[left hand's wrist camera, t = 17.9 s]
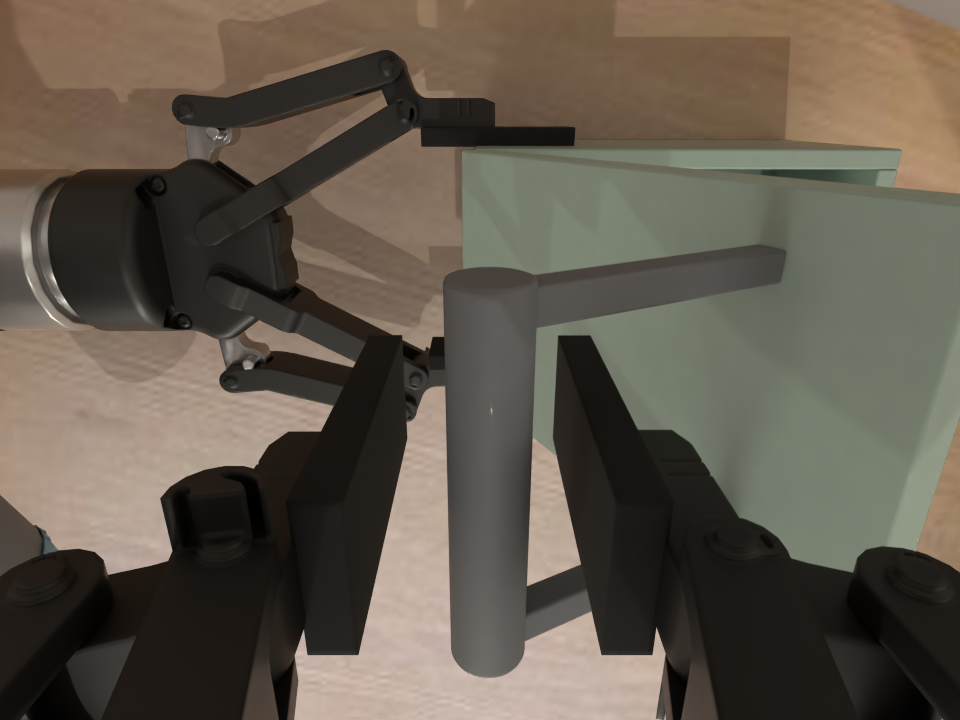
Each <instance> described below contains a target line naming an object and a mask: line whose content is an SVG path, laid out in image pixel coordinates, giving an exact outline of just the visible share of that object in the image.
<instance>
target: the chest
mask: <svg viewBox="0 0 960 720" xmlns="http://www.w3.org/2000/svg"><path fill="white" fill-rule="evenodd" d="M479 149H489V150H499V151H510V152H521V153H531V154H542V155H552V156H563V157H574V158H584V159H595V160H605V161H616V162H627V163H637V164H648V165H658V166H669V167H680V168H690V169H701V170H711V171H722V172H733V173H743V174H754V175H765V176H775V177H786V178H796V179H807V180H818V181H828V182H839V183H849V184H860V185H871V186H881V187H892V188H893V186H894V182H895V178H896V174H897V170H895V169H897V168H898V166H899V162H900V157H901V153H902V150H900V149H892V148H879V147H867V146H854V145H842V144H829V143H817V142H804V141H792V140H575V141H574V146H476V147H475V150H479Z"/></svg>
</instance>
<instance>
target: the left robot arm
mask: <svg viewBox="0 0 960 720" xmlns="http://www.w3.org/2000/svg"><path fill="white" fill-rule="evenodd" d="M406 442H407V423H406V404H405V384H404V364H403V345H402V335H369V337H368V339H367V341H366V343H365V345H364V347H363V349H362V351H361V353H360V355H359V357H358V359H357V361H356V363H355V365H354V367H353V369H352V371H351V373H350V375H349V377H348V379H347V381H346V383H345V385H344V387H343V389H342V391H341V393H340V395H339V397H338V399H337V401H336V403H335V405H334V407H333V409H332V411H331V413H330V415H329V417H328V419H327V421H326V423H325V425H324V427H323V429H322V431H321V432H287V433H286V434H285V435H283V436H282V437H280V438H279V439H277V440H276V441H275V442H273V443H272V444H270V445H269V446H268V448H267V449H266V451H265V452H264V454H263V455H262V457H261V459H260V460H259V464H258V465H256V466H255V468H254V469H252V468H249V467H245V466H223V467H217V468H212V469H207V470H203V471H201V472H198V473H195V474H193V475H190V476H187V477H185V478H184V479H182V480H180V481H179V482H177V483H176V484H174V485H172V486H171V487H170V488H169V489H168V490H167V491H166V492H165V494H164V495H163V496H162V497H161V498H160V499H161V504H162V508H163V512H164V516H165V521H166V525H167V529H168V534H169V538H170V542H171V546H172V554H171V556H170V558H169V561H167V562H163V563H159V564H156V565H152V566H148V567H143V568H139V569H134V570H129V571H124V572H120V573H115V574H110V575H108V574H107V571H106V567H105V564H104V560H103V559H102V558H101V557H100V556H98V555H97V554H96V553H95V552H92V551H87V550H82V549H71V550H60V551H55V552H50V553H47V554H43V555H40V556H37V557H34V558H32V559H30V560H28V561H26V562H23V563H21V564H19V565H17V566H15V567H13V568H11V569H10V570H8V571H7V572H5V573H4V574H3V575H1V576H0V720H294V716H295V706H296V697H297V687H298V676H297V669H296V662H295V653H296V650H297V647H298V644H299V641H300V638H301V636H302V633H303V630H304V633H305V640H306V647H307V654H308V655H358V654H359V650H360V646H361V641H362V637H363V632H364V628H365V623H366V619H367V615H368V610H369V606H370V601H371V597H372V592H373V588H374V583H375V579H376V575H377V570H378V566H379V561H380V557H381V552H382V548H383V544H384V539H385V535H386V530H387V526H388V521H389V517H390V513H391V508H392V504H393V499H394V495H395V490H396V486H397V481H398V477H399V473H400V468H401V464H402V459H403V455H404V450H405V446H406ZM553 442H554V446H555V450H556V455H557V459H558V464H559V468H560V473H561V477H562V481H563V486H564V490H565V495H566V499H567V504H568V508H569V513H570V517H571V521H572V526H573V530H574V535H575V539H576V544H577V548H578V552H579V557H580V561H581V566H582V570H583V575H584V579H585V583H586V588H587V592H588V597H589V601H590V606H591V610H592V614H593V619H594V623H595V628H596V632H597V637H598V641H599V646H600V650H601V654H602V655H652V654H653V647H654V640H655V633H656V627H657V630H658V632H659V635H660V638H661V641H662V644H663V647H664V650H665V653H666V656H665V662H664V669H663V675H662V682H661V688H660V695H659V701H658V708H657V715H656V719H661V720H664V717H665V714H666V720H941V719H942V718H943V720H960V572H958V571H957V570H955V569H954V568H953V567H951V566H950V565H948V564H945V563H943V562H941V561H939V560H937V559H935V558H933V557H931V556H929V555H927V554H924V553H921V552H915V551H914V550H909V549H905V548H897V547H886V546H880V547H875V548H870V549H866V550H865V551H864V552H863V553H862V554H860V555H859V556H858V557H857V560H856V564H855V567H854V571H853V572H848V571H843V570H839V569H834V568H829V567H824V566H820V565H815V564H810V563H807V562H803V561H799V560H796V559H792V558H791V557H790V555H789V553H788V550H787V549H786V547H785V546H784V545H783V543H782V542H781V541H780V539H779V538H778V537H777V536H775V535H774V534H773V533H771V532H770V531H768V530H767V529H766V528H764V527H763V526H760V525H758V524H756V523H753V522H751V521H749V520H746V519H743V518H739V516H738V515H737V513H736V512H735V510H734V509H733V507H732V506H731V504H730V503H729V501H728V499H727V498H726V496H725V495H724V493H723V492H722V490H721V489H720V487H719V485H718V484H717V482H716V481H715V479H714V478H713V476H710V471H709V470H708V468H707V467H706V465H705V464H704V463H702V459H701V458H700V456H699V454H698V453H697V451H696V450H695V448H694V447H693V445H692V444H691V443H690V442H689V441H687V440H686V439H684V438H683V437H681V436H680V435H679V434H677V433H676V432H674V431H673V430H638V429H637V427H636V425H635V423H634V421H633V419H632V417H631V415H630V413H629V411H628V409H627V407H626V405H625V403H624V401H623V399H622V397H621V395H620V393H619V391H618V389H617V387H616V385H615V383H614V381H613V379H612V377H611V375H610V373H609V371H608V369H607V367H606V365H605V363H604V361H603V359H602V357H601V355H600V353H599V351H598V349H597V347H596V345H595V343H594V341H593V339H592V337H591V335H558V345H557V365H556V384H555V404H554V423H553Z"/></svg>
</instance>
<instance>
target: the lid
mask: <svg viewBox="0 0 960 720" xmlns="http://www.w3.org/2000/svg"><path fill="white" fill-rule="evenodd" d="M462 238H463V269H462V270H458V271H455V272H452V273H450V274H448V275H447V276H446V277H445V279H444V281H443V299H444V345H445V390H446V435H447V481H448V526H449V571H450V617H451V650H452V655H453V657H454V659H455V661H456V662H457V664H458V665H459V666H460V667H461V668H462V669H463V670H464V671H466V672H467V673H469V674H471V675H473V676H476V677H481V678H496V677H500V676H503V675H505V674H507V673H509V672H511V671H512V670H513V669H514V668H515V667H516V666H517V665H518V664H519V662H520V661H521V659H522V657H523V654H524V646H525V641H527V640H529V639H531V638H533V637H536V636H538V635H540V634H542V633H544V632H547V631H549V630H551V629H553V628H556V627H558V626H560V625H562V624H564V623H567V622H569V621H571V620H573V619H575V618H578V617H580V616H582V615H584V614H587V613H589V612H591V611H592V610H591V606H590V601H589V597H588V592H587V588H586V583H585V579H584V575H583V570H582V566H581V565H579V566H576V567H574V568H571V569H569V570H566V571H564V572H562V573H559V574H557V575H554V576H552V577H549V578H547V579H544V580H542V581H539V582H537V583H534V584H532V585H529V586H527V568H528V542H529V515H530V489H531V463H532V437H533V438H534V439H535V440H537V441H538V442H539V443H540V444H542V445H543V446H544V447H545V448H547V449H548V450H549V451H550V452H552V453H553V454H554V455H555V456H557V455H556V450H555V446H554V442H553V423H554V404H555V384H556V365H557V345H558V335H591V337H592V339H593V341H594V343H595V345H596V347H597V349H598V351H599V353H600V355H601V357H602V359H603V361H604V363H605V365H606V367H607V369H608V371H609V373H610V375H611V377H612V379H613V381H614V383H615V385H616V387H617V389H618V391H619V393H620V395H621V397H622V399H623V401H624V403H625V405H626V407H627V409H628V411H629V413H630V415H631V417H632V419H633V421H634V423H635V425H636V427H637V429H638V430H673V431H674V432H676V433H677V434H679V435H680V436H681V437H683V438H684V439H686V440H687V441H689V442H690V443H691V444H692V445H693V447H694V448H695V450H696V451H697V453H698V454H699V456H700V458H701V459H702V463H704V464H705V465H706V467H707V468H708V470H709V471H710V476H713V478H714V479H715V481H716V482H717V484H718V485H719V487H720V489H721V490H722V492H723V493H724V495H725V496H726V498H727V499H728V501H729V503H730V504H731V506H732V507H733V509H734V510H735V512H736V513H737V515H738V516H739V518H743V519H746V520H749V521H751V522H753V523H756V524H758V525H760V526H763V527H764V528H766V529H767V530H768V531H770V532H771V533H773V534H774V535H775V536H777V537H778V538H779V539H780V541H781V542H782V543H783V545H784V546H785V547H786V549H787V550H788V553H789V555H790V557H791V558H792V559H796V560H799V561H803V562H807V563H810V564H815V565H820V566H824V567H829V568H834V569H839V570H843V571H848V572H853V571H854V567H855V564H856V560H857V557H858V556H859V555H860V554H862V553H863V552H864V551H865V550H866V549H870V548H875V547H880V546H886V547H897V548H905V549H909V550H914V551H915V550H916V547H917V544H918V541H919V538H920V535H921V532H922V529H923V526H924V523H925V520H926V517H927V514H928V511H929V508H930V505H931V502H932V499H933V496H934V493H935V490H936V487H937V484H938V481H939V478H940V475H941V472H942V469H943V466H944V463H945V460H946V457H947V454H948V451H949V448H950V445H951V442H952V439H953V436H954V433H955V430H956V427H957V423H958V420H959V417H960V194H955V193H945V192H934V191H924V190H913V189H902V188H892V187H881V186H871V185H860V184H849V183H839V182H828V181H818V180H807V179H796V178H786V177H775V176H765V175H754V174H743V173H733V172H722V171H711V170H701V169H690V168H680V167H669V166H658V165H648V164H637V163H627V162H616V161H605V160H595V159H584V158H574V157H563V156H552V155H542V154H531V153H521V152H510V151H499V150H489V149H479V150H463V151H462Z"/></svg>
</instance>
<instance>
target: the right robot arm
mask: <svg viewBox="0 0 960 720" xmlns="http://www.w3.org/2000/svg"><path fill="white" fill-rule="evenodd" d="M379 90H382V91H383V94H384V97H385V99H386V102H387V104H388V106H386V107H385V108H383V109H381V110H380V111H378V112H377V113H375V114H373V115H372V116H370V117H368V118H367V119H365V120H364V121H362V122H360V123H359V124H357V125H355V126H354V127H352V128H351V129H349V130H347V131H346V132H344V133H342V134H341V135H339V136H338V137H336V138H334V139H333V140H331V141H329V142H328V143H326V144H325V145H323V146H321V147H320V148H318V149H316V150H315V151H313V152H312V153H310V154H308V155H307V156H305V157H303V158H302V159H300V160H299V161H297V162H295V163H294V164H292V165H290V166H289V167H287V168H286V169H284V170H282V171H281V172H279V173H277V174H276V175H274V176H272V177H270V178H268V179H266V180H264V181H263V182H261V183H259V184H258V185H254V184H253V183H251V182H250V181H249V180H247V179H246V178H244V177H243V176H241V175H240V174H238V173H237V172H235V171H234V170H232V169H231V168H229V167H228V166H226V165H225V164H224V163H222V162H220V161H219V160H218V158H219V153H220V151H221V150H222V149H223V148H224V147H226V146H231V145H234V144H236V143H237V142H238V141H239V139H240V128H242V127H255V126H260V125H265V124H269V123H272V122H275V121H279V120H282V119H285V118H289V117H292V116H295V115H299V114H302V113H305V112H309V111H312V110H315V109H319V108H322V107H325V106H329V105H332V104H335V103H339V102H342V101H345V100H349V99H352V98H356V97H359V96H362V95H366V94H369V93H372V92H376V91H379ZM172 111H173V114H174V116H175V117H176V119H177V120H178V121H179V122H181V123H182V124H185V130H186V141H187V153H188V160H186V161H184V162H183V163H181V164H180V165H178V166H177V167H175V168H172V169H87V170H83V171H80V172H75V171H72V170H69V169H0V331H5V330H23V331H90V330H92V329H95V328H97V329H100V330H105V331H178V330H195V331H199V332H202V333H205V334H207V335H209V336H211V337H213V338H216V339H219V343H220V347H221V350H222V354H223V358H224V362H225V366H226V370H225V371H224V372H223V373H222V374H221V376H220V378H219V381H220V385H221V387H222V388H223V389H224V390H226V391H228V392H231V393H239V392H251V391H264V390H268V391H273V392H277V393H281V394H285V395H290V396H294V397H298V398H302V399H307V400H311V401H315V402H319V403H324V404H328V405H332V406H334V405H335V403H336V401H337V399H338V397H339V395H340V393H341V391H342V389H343V387H344V385H345V383H346V381H347V379H348V377H349V375H350V373H351V371H352V369H353V368H352V367H348V366H344V365H340V364H336V363H332V362H328V361H323V360H319V359H315V358H311V357H307V356H303V355H299V354H295V353H289V352H282V351H270V350H269V346H268V345H267V344H265V343H259V342H254V341H252V340H250V339H249V338H248V337H247V336H246V334H245V332H244V331H245V330H247V329H248V328H249V327H250V326H252V325H253V324H254V323H256V322H257V321H258V320H260V321H263V322H265V323H267V324H269V325H271V326H273V327H275V328H277V329H279V330H281V331H284V332H287V333H297V334H299V335H301V336H304V337H306V338H308V339H310V340H312V341H314V342H316V343H318V344H320V345H322V346H324V347H326V348H328V349H330V350H332V351H334V352H336V353H338V354H340V355H342V356H345V357H347V358H349V359H351V360H353V361H355V362H356V361H357V359H358V357H359V355H360V353H361V351H362V349H363V347H364V345H365V343H366V341H367V339H368V337H369V335H391V334H389V333H387V332H385V331H383V330H381V329H379V328H377V327H375V326H373V325H371V324H369V323H367V322H365V321H364V320H362V319H360V318H358V317H356V316H354V315H352V314H350V313H348V312H346V311H344V310H342V309H340V308H338V307H336V306H334V305H332V304H330V303H328V302H326V301H324V300H322V299H320V298H318V297H317V295H316V294H315V293H314V292H313V291H311V290H310V289H308V288H306V287H304V286H302V285H300V284H298V283H296V282H295V281H296V280H297V279H299V276H298V268H297V262H296V259H295V257H294V254H293V252H292V249H291V244H292V237H293V224H292V216H288V215H287V213H286V211H285V209H284V207H285V206H286V205H288V204H289V203H291V202H293V201H294V200H296V199H298V198H299V197H301V196H303V195H304V194H306V193H307V192H309V191H310V190H312V189H314V188H315V187H317V186H319V185H320V184H322V183H324V182H325V181H327V180H329V179H330V178H332V177H334V176H335V175H337V174H339V173H340V172H342V171H344V170H345V169H347V168H349V167H350V166H352V165H354V164H355V163H357V162H359V161H360V160H362V159H364V158H365V157H367V156H369V155H370V154H372V153H373V152H375V151H377V150H378V149H380V148H382V147H383V146H385V145H387V144H388V143H390V142H392V141H393V140H395V139H397V138H398V137H400V136H402V135H403V134H405V133H407V132H408V131H410V130H412V129H421V146H422V147H476V146H574V141H575V128H574V127H495V103H493V102H491V101H488V100H486V99H484V98H424V97H422V96H421V95H419V94H418V93H417V91H416V90H415V88H414V86H413V83H412V81H411V78H410V75H409V72H408V70H407V65H406V63H405V61H404V60H403V59H402V58H401V57H399V56H398V55H397V54H395V53H394V52H392V51H389V50H382V51H379V52H375V53H372V54H369V55H366V56H362V57H359V58H356V59H352V60H349V61H346V62H343V63H339V64H336V65H333V66H330V67H326V68H323V69H320V70H316V71H313V72H310V73H307V74H303V75H300V76H297V77H294V78H290V79H287V80H284V81H280V82H277V83H274V84H271V85H267V86H264V87H261V88H258V89H254V90H251V91H248V92H244V93H241V94H238V95H235V96H231V97H228V98H223V97H212V96H199V95H179V96H178V97H176V98H175V99H174V101H173V103H172ZM402 345H403V364H404V384H405V404H406V422H409V421H411V420H413V419H414V418H415V416H416V413H417V409H418V406H419V403H420V401H421V398H422V395H423V393H424V392H425V391H426V390H427V389H429V388H431V387H435V386H445V345H444V337H433V338H432V342H431V347H430V349H429V348H428V347H426V350H425V351H423V350H421V349H419V348H417V347H415V346H413V345H411V344H409V343H407V342H405V341H403V340H402ZM55 551H59V550H58V549H57V548H56V547H55V546H54V545H53V544H52V542H51V539H50V537H49V536H48V535H47V533H46V531H44V530H43V529H41V528H39V527H38V526H37V525H32V524H31V523H30V522H29V521H28V520H27V519H26V518H25V517H23V516H22V515H21V514H20V513H19V512H18V511H17V510H16V509H15V508H14V507H13V506H11V505H10V504H9V503H8V502H7V501H6V500H5V499H4V498H3V497H2V496H1V495H0V576H1V575H3V574H4V573H5V572H7V571H8V570H10V569H11V568H13V567H15V566H17V565H19V564H21V563H23V562H26V561H28V560H30V559H32V558H34V557H37V556H40V555H43V554H47V553H50V552H55Z"/></svg>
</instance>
